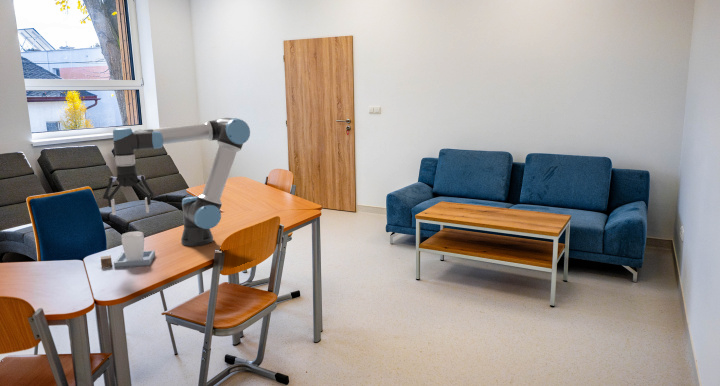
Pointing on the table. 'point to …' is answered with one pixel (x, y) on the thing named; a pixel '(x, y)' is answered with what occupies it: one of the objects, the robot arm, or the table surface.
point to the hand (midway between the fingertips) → (131, 213)
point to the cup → (133, 245)
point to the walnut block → (106, 261)
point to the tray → (123, 263)
